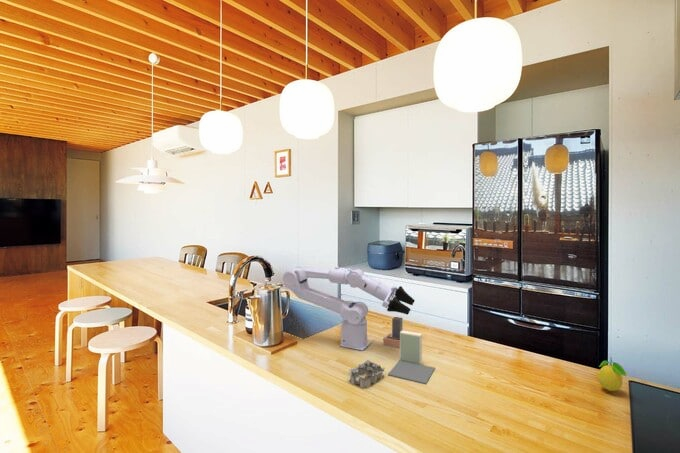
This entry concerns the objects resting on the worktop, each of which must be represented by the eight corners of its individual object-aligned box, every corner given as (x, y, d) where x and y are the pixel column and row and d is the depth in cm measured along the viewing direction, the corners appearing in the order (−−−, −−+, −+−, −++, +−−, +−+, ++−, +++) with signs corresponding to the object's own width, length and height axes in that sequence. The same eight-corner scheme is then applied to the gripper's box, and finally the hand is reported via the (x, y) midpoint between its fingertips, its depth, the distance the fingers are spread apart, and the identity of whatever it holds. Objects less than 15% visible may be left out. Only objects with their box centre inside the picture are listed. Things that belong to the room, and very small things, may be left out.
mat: (387, 375, 111) (387, 374, 111) (399, 361, 120) (399, 360, 120) (426, 384, 105) (426, 383, 105) (434, 368, 115) (434, 367, 115)
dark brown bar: (403, 347, 132) (403, 320, 131) (388, 344, 135) (388, 318, 134) (406, 344, 135) (406, 318, 134) (391, 341, 138) (391, 316, 137)
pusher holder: (406, 349, 130) (406, 342, 130) (383, 344, 134) (383, 338, 134) (411, 343, 135) (411, 336, 135) (388, 339, 140) (388, 332, 139)
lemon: (625, 400, 96) (627, 364, 95) (598, 394, 99) (600, 359, 98) (621, 389, 101) (623, 355, 101) (596, 383, 104) (598, 350, 104)
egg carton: (365, 390, 102) (364, 377, 102) (346, 381, 108) (345, 368, 107) (387, 377, 110) (386, 364, 110) (368, 369, 115) (368, 357, 115)
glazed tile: (399, 361, 121) (399, 332, 120) (401, 358, 123) (401, 330, 122) (419, 365, 117) (420, 336, 116) (421, 362, 119) (421, 333, 118)
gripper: (375, 288, 122) (411, 307, 118) (386, 273, 135) (419, 290, 131) (368, 304, 124) (403, 323, 121) (380, 288, 137) (412, 305, 134)
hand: (411, 307), depth 126 cm, fingers open, 7 cm apart
